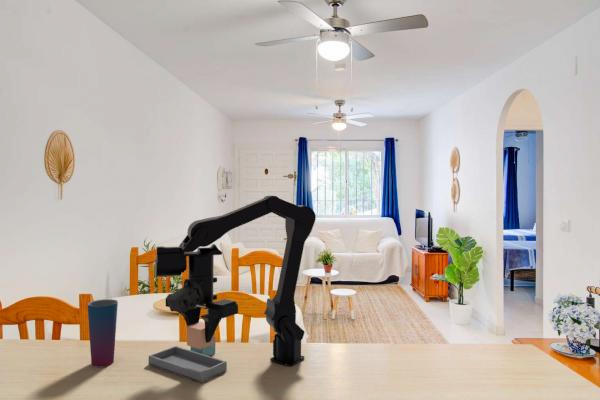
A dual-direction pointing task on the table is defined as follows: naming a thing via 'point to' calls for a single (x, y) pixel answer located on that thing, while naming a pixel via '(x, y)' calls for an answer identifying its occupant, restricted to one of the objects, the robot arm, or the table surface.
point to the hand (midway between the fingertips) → (200, 340)
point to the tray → (188, 364)
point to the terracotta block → (198, 336)
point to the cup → (102, 331)
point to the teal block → (205, 350)
